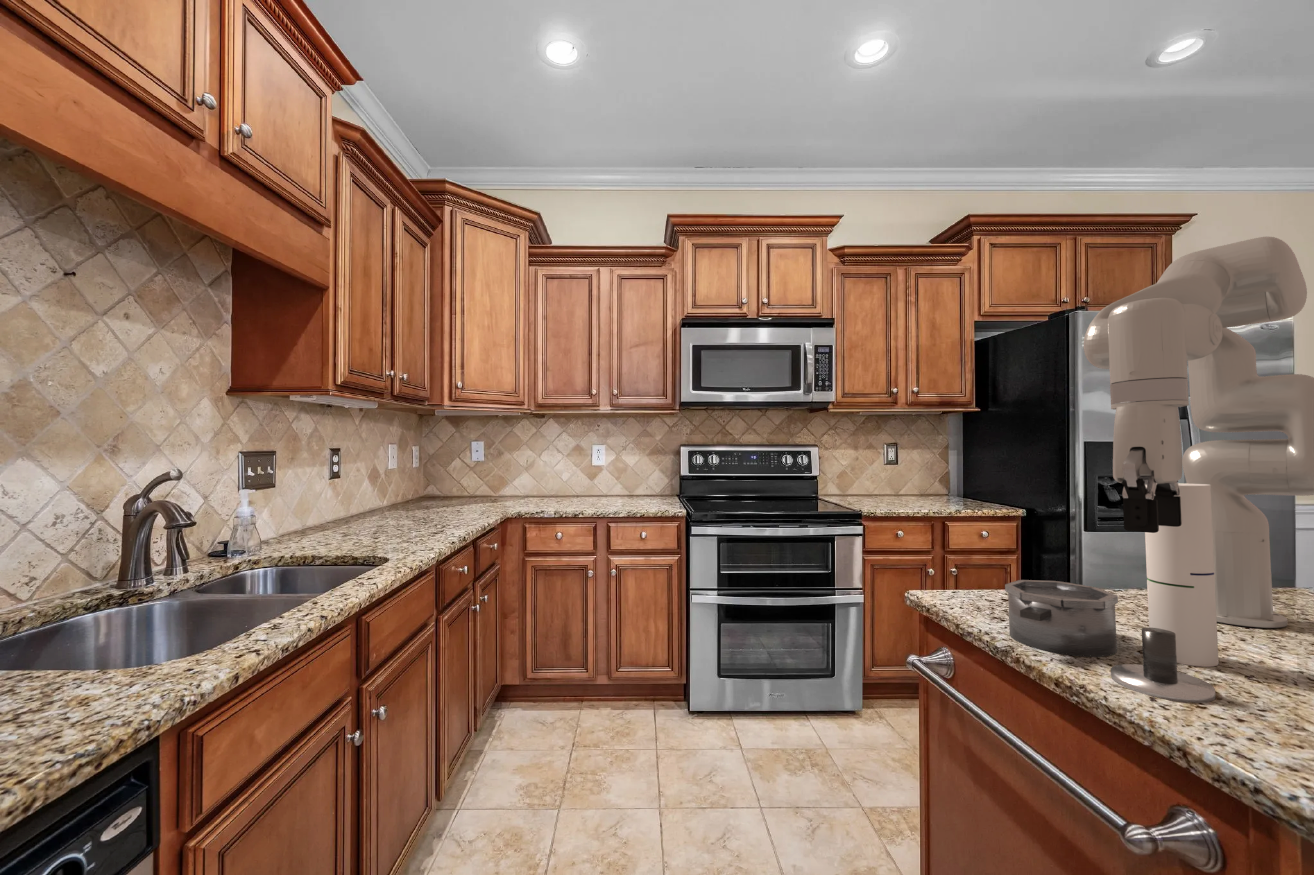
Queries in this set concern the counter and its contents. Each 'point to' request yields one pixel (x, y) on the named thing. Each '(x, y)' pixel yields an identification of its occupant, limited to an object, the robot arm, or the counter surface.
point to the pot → (1062, 617)
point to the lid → (1161, 671)
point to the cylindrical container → (1185, 579)
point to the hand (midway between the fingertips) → (1153, 528)
